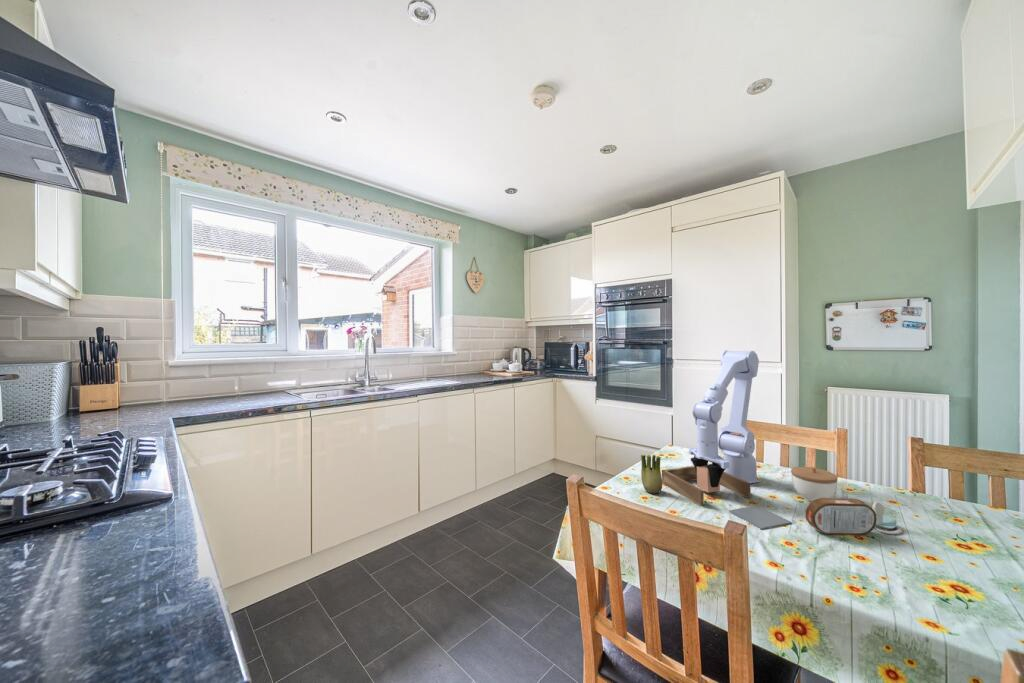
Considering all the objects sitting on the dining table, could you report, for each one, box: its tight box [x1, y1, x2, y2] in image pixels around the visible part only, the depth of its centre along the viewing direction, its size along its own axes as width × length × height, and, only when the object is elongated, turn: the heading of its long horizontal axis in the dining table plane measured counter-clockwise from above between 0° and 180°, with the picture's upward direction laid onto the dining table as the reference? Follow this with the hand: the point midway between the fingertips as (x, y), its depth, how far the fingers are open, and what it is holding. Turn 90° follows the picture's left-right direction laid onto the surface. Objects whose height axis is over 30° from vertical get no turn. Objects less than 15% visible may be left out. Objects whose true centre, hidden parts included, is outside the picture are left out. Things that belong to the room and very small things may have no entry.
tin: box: [804, 497, 877, 536], centre depth 91 cm, size 15×3×8 cm, turn 84°
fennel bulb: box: [640, 453, 663, 495], centre depth 118 cm, size 6×5×12 cm
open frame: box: [661, 465, 752, 507], centre depth 118 cm, size 18×18×4 cm
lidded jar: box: [790, 466, 838, 503], centre depth 110 cm, size 11×11×9 cm
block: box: [696, 465, 721, 493], centre depth 116 cm, size 4×4×6 cm
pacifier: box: [871, 501, 903, 535], centre depth 93 cm, size 7×6×6 cm
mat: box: [728, 505, 793, 530], centre depth 100 cm, size 10×10×1 cm
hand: (708, 483), depth 116 cm, fingers closed on block, 4 cm apart
